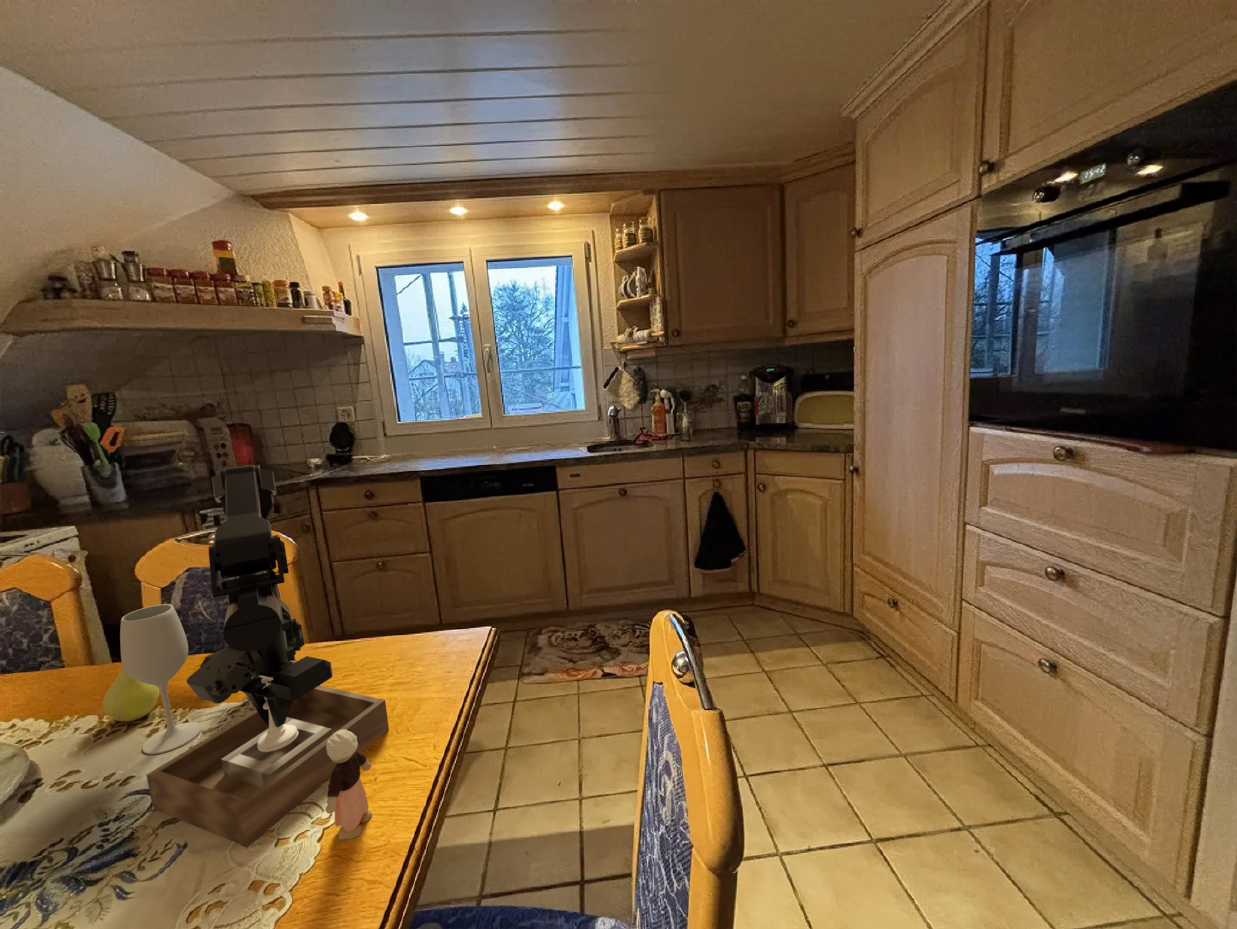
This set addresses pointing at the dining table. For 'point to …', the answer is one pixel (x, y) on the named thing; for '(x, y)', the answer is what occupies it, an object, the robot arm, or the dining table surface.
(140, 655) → the wineglass
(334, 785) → the grandmother figurine
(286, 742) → the chess piece
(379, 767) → the dining table surface
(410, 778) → the dining table surface
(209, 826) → the walnut box
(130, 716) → the fruit
